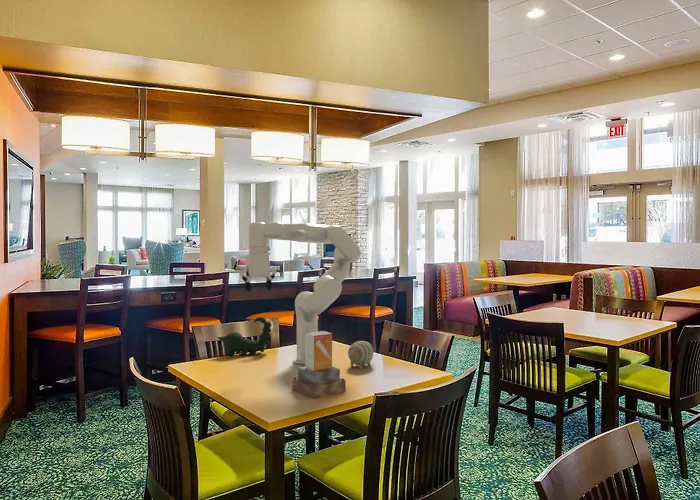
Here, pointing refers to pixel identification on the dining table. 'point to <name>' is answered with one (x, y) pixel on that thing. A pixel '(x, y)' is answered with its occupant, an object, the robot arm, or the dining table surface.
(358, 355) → the toy sheep
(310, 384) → the grey and wooden block
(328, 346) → the small box
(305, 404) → the dining table surface
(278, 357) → the dining table surface
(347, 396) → the dining table surface
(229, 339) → the toy figurine
